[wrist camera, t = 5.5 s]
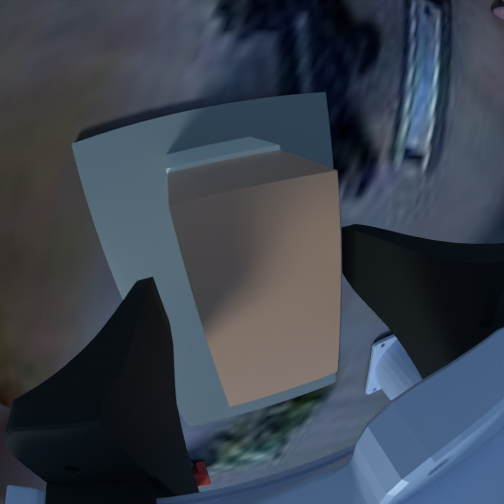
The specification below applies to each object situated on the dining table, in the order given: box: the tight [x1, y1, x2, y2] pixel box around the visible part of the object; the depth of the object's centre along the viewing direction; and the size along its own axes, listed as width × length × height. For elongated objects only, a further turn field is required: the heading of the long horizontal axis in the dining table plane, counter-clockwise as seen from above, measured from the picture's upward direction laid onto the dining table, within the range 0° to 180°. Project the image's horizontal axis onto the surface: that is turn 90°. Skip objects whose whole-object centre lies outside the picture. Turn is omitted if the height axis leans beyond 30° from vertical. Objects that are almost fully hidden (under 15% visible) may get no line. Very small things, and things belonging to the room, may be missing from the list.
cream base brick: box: [166, 137, 280, 176], centre depth 15 cm, size 4×8×4 cm, turn 9°
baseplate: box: [72, 92, 336, 427], centre depth 20 cm, size 14×24×1 cm, turn 9°
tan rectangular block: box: [167, 150, 341, 407], centre depth 12 cm, size 4×8×4 cm, turn 8°
